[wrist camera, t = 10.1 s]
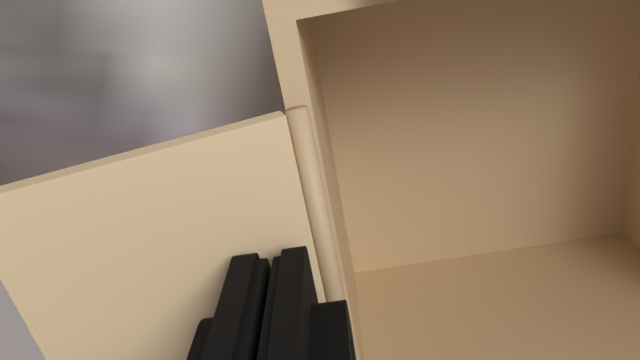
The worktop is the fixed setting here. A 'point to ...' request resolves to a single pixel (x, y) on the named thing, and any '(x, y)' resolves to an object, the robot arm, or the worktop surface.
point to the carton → (476, 170)
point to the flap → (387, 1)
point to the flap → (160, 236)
